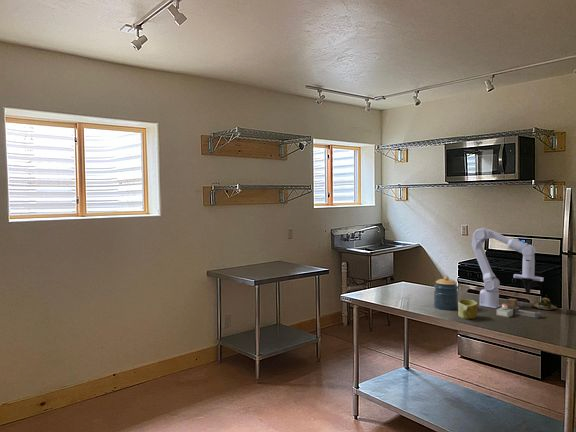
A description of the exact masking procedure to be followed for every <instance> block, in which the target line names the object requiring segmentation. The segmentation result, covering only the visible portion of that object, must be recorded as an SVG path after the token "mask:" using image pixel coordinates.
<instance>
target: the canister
mask: <svg viewBox="0 0 576 432" xmlns="http://www.w3.org/2000/svg"><path fill="white" fill-rule="evenodd" d="M457 284H458V282H457V281H456V280H455V279H451V278H449V276H448V275H445V276H444V277H443V278H439V279H437V280H435V284H434V285H433V287H434V291H433V293H434V294H433V295H434V296H433V297H434V298H433V300H434V301H433V306H434V308H436V309H438V310H443V311H445V310H447V311H454V310H458V301H459V294H460V293H459V292H458V290H459V288H460V287H459V286H458V285H457Z"/></svg>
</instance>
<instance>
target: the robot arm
mask: <svg viewBox="0 0 576 432" xmlns="http://www.w3.org/2000/svg"><path fill="white" fill-rule="evenodd" d="M489 239H491V240H493V239H494V240H496V241H499V242H500V243H501V242H502V243H504V244H506V245H507V246H508V248H509V249H511V250H513V251H516V252H518V253H520V254H522V271H521V272H522V273H521V274H519V273H514V274H513V279H521V283H522V284H523V287H524V290H525V293H526V294H531V290H532V288H533V285H534V283H535V282H536V281H537V282H544V278H545V277H541V276H538V275H537V276H536V275H535V269H536V268H535V265H536V263H535V262H536V260H535V254H536V253H537V249H536V248H535V246H534V245H532V244H528V243H527V242H523V241H522V240H520V239H519V238H514V237H513V238H509V237H506V236H505V235H503V234H501V233H499V232H497V231H494V230H492V229H489V228H486V227H481V228H477V229H476V230H475V231H474V232H473V233H472V240H471V248H472V250H473V253H474V255H475V258H476V260H477V263H478V266H479V267H480V270H481V273H482V280H483V289H481V290H480V291H479V304H478V306H481V307H485V308H492V309H499V308H501V307H502V304H500V303H499V302H500V301H499V300H500V298H499V297H500V293H499V292H500V289H499V287H500V284H501V282H500V280H499V278H497V276H496V275H495V273H494V272H493V269H492V268H491V266H490V262H489V260H488V258H487V255H486V253H485V250H484V247H483V244H484V243H485V241H486V240H489Z"/></svg>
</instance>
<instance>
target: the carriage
mask: <svg viewBox="0 0 576 432" xmlns="http://www.w3.org/2000/svg"><path fill="white" fill-rule="evenodd" d="M506 304H508V309H513V315H517V314H516V309H519V310H520V306H518V299H516V298H507V300H506Z"/></svg>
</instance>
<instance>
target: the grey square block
mask: <svg viewBox="0 0 576 432" xmlns="http://www.w3.org/2000/svg"><path fill="white" fill-rule="evenodd" d="M495 311H496V312H495V313H496V316H498V317H504V318H510V317H512V316H514V314H513V309H502V308H501V307H498V308H495Z"/></svg>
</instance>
